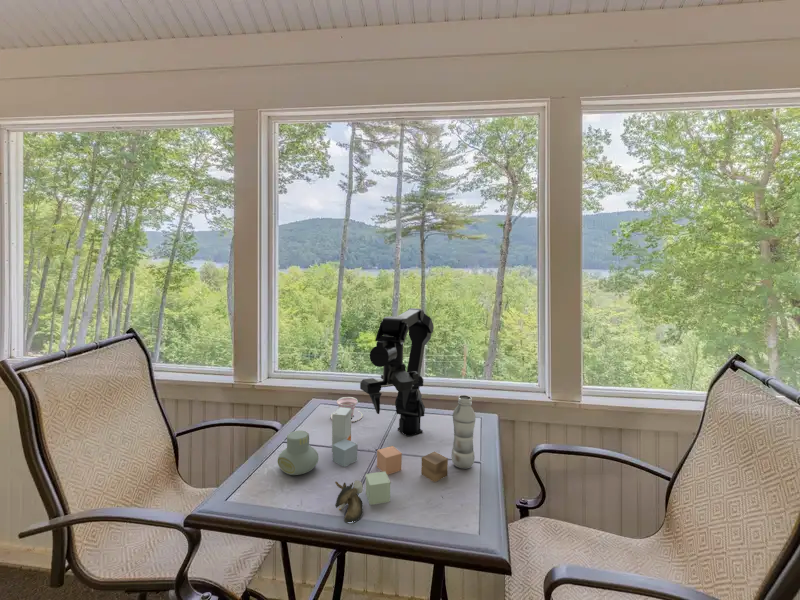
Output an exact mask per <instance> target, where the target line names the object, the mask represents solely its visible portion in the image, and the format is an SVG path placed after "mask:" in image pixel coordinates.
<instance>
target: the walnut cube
mask: <svg viewBox="0 0 800 600" xmlns="http://www.w3.org/2000/svg"><path fill="white" fill-rule="evenodd" d="M448 469H449V458H448V457H447V456H445V455H442V454H441V453H439V452H436V451H433V452H430V453H427V454H425V455H424V456H422V457H421V471H420V472H421V473H420V474H421V476H423V477H424V478H426V479H428V480H430V481H432V482H433V483H437V482H438V481H440V480H442V479H444V478H446V477H448V471H449V470H448Z"/></svg>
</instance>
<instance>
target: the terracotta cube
mask: <svg viewBox="0 0 800 600" xmlns="http://www.w3.org/2000/svg"><path fill="white" fill-rule="evenodd" d="M402 453H403V452H401V451H400V450H398V448H396V447H395V446H393V445H391V446H387V447H384V448H379V449H377V450H376V467H377V468H378V469H379V471H380V472H384V471H385V472H386V474H387V476H389V475H391V474H394V473H397V472H401V471H402V468H403V467H402V464H403V463H402V460H403V459H402V458H403V456H402V455H403V454H402Z"/></svg>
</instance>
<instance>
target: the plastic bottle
mask: <svg viewBox="0 0 800 600" xmlns="http://www.w3.org/2000/svg"><path fill="white" fill-rule="evenodd" d="M457 404H458V405H457V406H456V407H455V408H454V410H453V413H452V421H453V432H454V433H453V437H454V438H453V446H452V450H451V461H452V463H453V465H454V466H455V467H456V468H459V469H466V470H467V469H470V468H472V466H473V465H474V464H475V459H476V458H475V451H474V450H475V449H474V440H473V439H474V431H475V423H476V418H477V415H476V413H475V411H474V408H473V407H472V405H473V404H472V396H471V395H466V394H464V395H463V394H460V395H459V396H458V399H457Z"/></svg>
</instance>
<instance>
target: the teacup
mask: <svg viewBox="0 0 800 600" xmlns="http://www.w3.org/2000/svg"><path fill="white" fill-rule="evenodd" d="M358 403H359V402H358V399H357V398H356V397H352V396H344V397H340V398H338V399H337V400H336V405H337V406H338V408H339V407H342V408H351V418H353V415H354V410H355V408H356V405H357V404H358ZM357 411H358V412H360V413H361V417H360V418H359V419H357V420H358V421H360V420H362V419H361V418H363V417H364V414H363V413H362V411H359V410H357ZM333 413H334V412H332V413H331V414H330V417H331V418H330V419H331V420H332V414H333ZM357 420H355V421H356V422H358V421H357ZM355 421H351V423H355Z"/></svg>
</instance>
